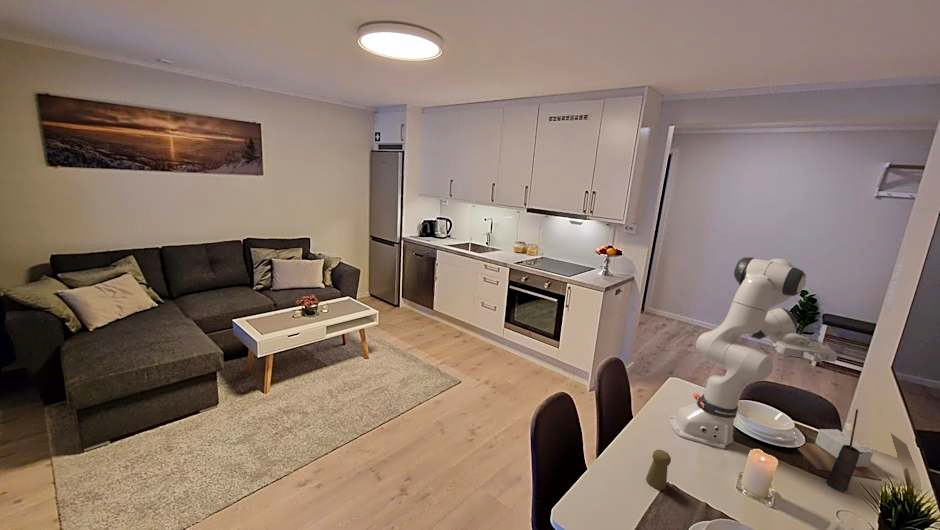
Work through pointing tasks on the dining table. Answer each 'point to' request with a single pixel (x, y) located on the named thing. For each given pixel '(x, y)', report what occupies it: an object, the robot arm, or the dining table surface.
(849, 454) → the butter churn
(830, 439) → the small box
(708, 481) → the dining table surface
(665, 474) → the olive pepper mill
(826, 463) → the walnut mat
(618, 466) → the dining table surface
